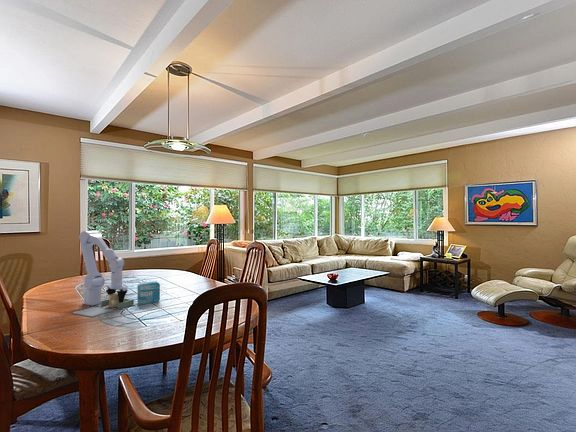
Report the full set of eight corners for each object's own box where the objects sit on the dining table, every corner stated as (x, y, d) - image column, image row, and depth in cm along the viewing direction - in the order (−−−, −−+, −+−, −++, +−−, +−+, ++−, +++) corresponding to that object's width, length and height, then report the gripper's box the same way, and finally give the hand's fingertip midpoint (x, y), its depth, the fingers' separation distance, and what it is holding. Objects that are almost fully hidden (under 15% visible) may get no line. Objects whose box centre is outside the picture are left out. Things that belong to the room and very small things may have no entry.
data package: (138, 304, 186) (138, 284, 186) (137, 303, 190) (137, 283, 190) (159, 301, 193) (159, 282, 193) (158, 300, 197) (158, 281, 197)
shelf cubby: (100, 305, 184) (100, 300, 184) (116, 301, 193) (116, 296, 193) (118, 308, 178) (118, 303, 178) (133, 304, 187) (133, 299, 187)
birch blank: (108, 306, 182) (108, 294, 182) (119, 303, 189) (119, 292, 189) (113, 307, 181) (113, 295, 181) (124, 304, 187) (124, 292, 187)
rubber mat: (72, 313, 169) (72, 312, 169) (93, 307, 180) (93, 306, 180) (91, 317, 163) (91, 316, 163) (112, 311, 174) (112, 310, 174)
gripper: (102, 279, 184) (102, 302, 184) (119, 281, 178) (119, 304, 178) (113, 277, 191) (112, 299, 191) (130, 278, 185) (129, 301, 185)
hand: (116, 301), depth 185 cm, fingers open, 7 cm apart
